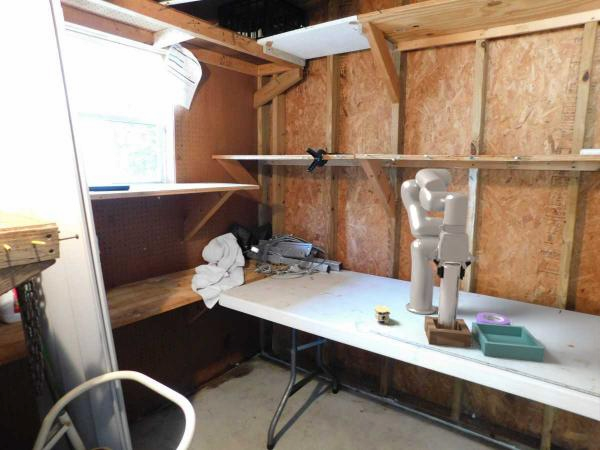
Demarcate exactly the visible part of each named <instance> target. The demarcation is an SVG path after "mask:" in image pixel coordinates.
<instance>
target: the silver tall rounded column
mask: <svg viewBox="0 0 600 450" xmlns="http://www.w3.org/2000/svg"><path fill="white" fill-rule="evenodd" d="M442 268H443V270H442V278H440V283H439V285H440V286H439V297H438V299H439V300H438V308H437V309H438V310H437V317H438V321H437V329H447V330H456V320H457V319H458V318H457V317H458V308H459V307H458V305H459V295H460V294H459V293H460V286H461V285H460V283H461V279H460V274H461V263H460V262H451V261H444V263H443V264H442Z"/></svg>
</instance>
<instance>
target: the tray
mask: <svg viewBox="0 0 600 450" xmlns="http://www.w3.org/2000/svg"><path fill="white" fill-rule="evenodd" d="M470 329H471V330H470V332H471V333H472V338H473V339H474V341H475V343H476V345H477V346H478V347H479V350H480V351H481V352H482V355H483V356H484V357H492V358H505V359H516V360H525V361H536V362H544V357H545V349H546V348H545V347H544V346H543V345H542V344H541V342H539V341H538V339H536V337H535V336H534V335H533V334H532V333H531V331H529V330H528V328H526V327H525V326H524V325H511V324H509V325H501V324H489V323H477V321H473V322H471V328H470Z"/></svg>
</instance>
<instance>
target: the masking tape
mask: <svg viewBox="0 0 600 450" xmlns="http://www.w3.org/2000/svg"><path fill="white" fill-rule="evenodd" d="M476 322H477V323H489V324H501V325H511V324H510V323H511V322H510V319H509V318H508V317H506V316H505V315H502V314H499V313H494V312H480V313H477V315H476Z"/></svg>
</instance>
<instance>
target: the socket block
mask: <svg viewBox="0 0 600 450" xmlns="http://www.w3.org/2000/svg"><path fill="white" fill-rule="evenodd" d="M437 321H438V316H429V315H428V316H427V315H425V316H424V324H423V325H424V327H423V329H424V332H426V333H425V335H426V339H427V342H428V345H434V346H443V345H444V346H446V347H454V348H455V347H456V348H466V349H467V348H468V349H472V340H473V336H472V333H471V330H470V329H469V327H468V325H467V323H466V322H465V320H464V319H463V318H457V320H456V330H447V329H437Z"/></svg>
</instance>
